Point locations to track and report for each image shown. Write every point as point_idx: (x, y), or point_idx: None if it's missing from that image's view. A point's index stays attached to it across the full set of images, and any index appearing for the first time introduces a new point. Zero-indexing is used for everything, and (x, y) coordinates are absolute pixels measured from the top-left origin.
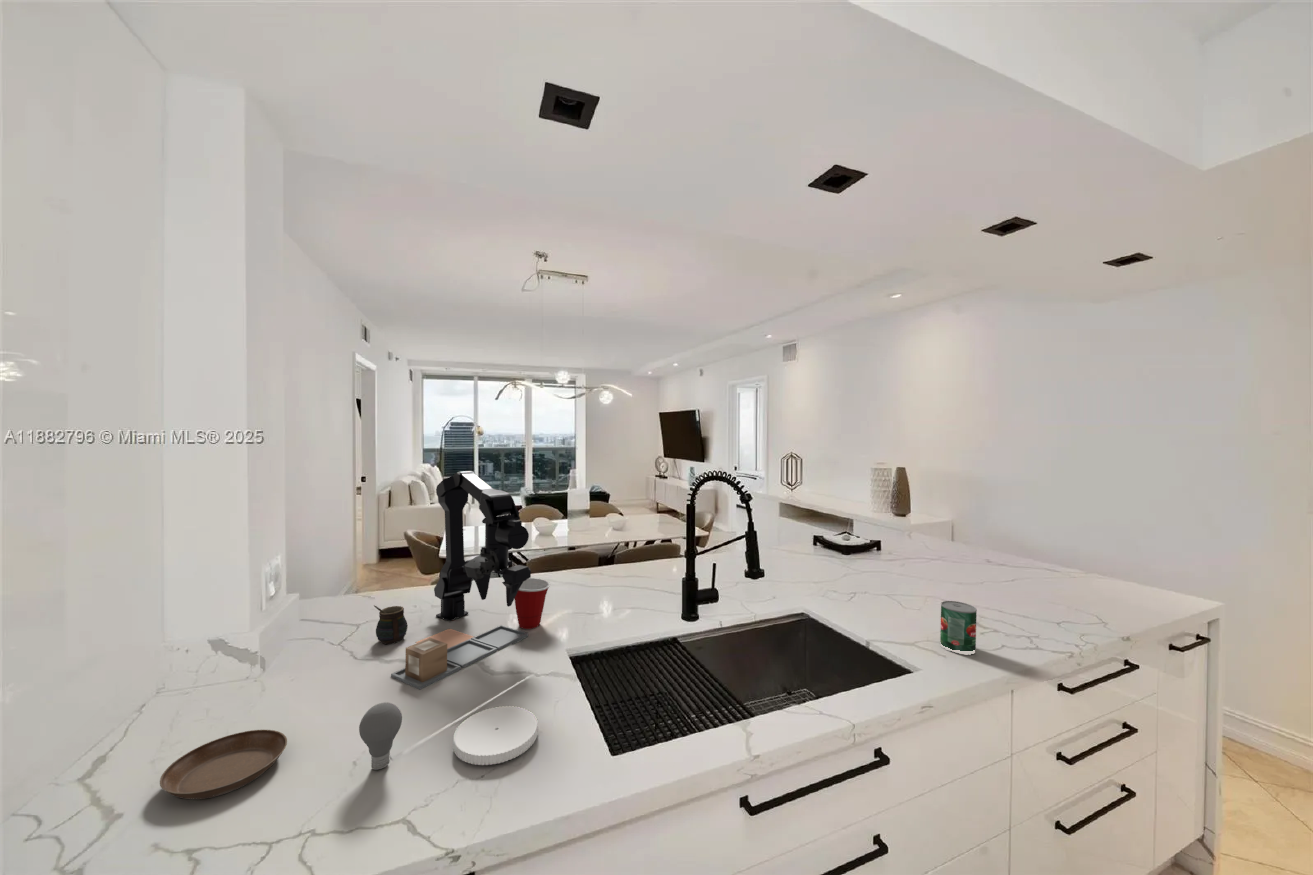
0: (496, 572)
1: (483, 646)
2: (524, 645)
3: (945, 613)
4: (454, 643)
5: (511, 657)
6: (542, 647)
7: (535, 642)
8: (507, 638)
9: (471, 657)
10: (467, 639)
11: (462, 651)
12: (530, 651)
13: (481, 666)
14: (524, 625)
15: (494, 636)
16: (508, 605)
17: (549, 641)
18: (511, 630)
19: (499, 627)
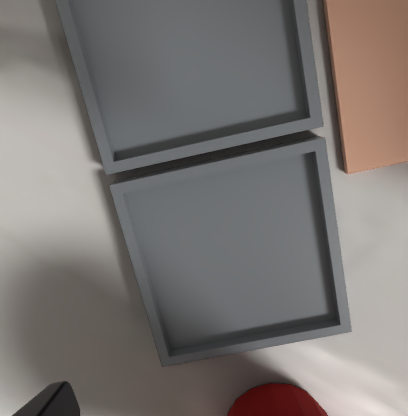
0: None
1: (192, 143)
2: (92, 298)
3: None
4: (358, 51)
5: (16, 193)
6: (20, 339)
7: (87, 346)
8: (200, 278)
9: (125, 36)
10: (348, 130)
11: (230, 35)
12: (17, 284)
13: (19, 38)
14: (250, 399)
15: (271, 247)
16: (42, 391)
17: None
18: (262, 335)
19: (337, 313)
